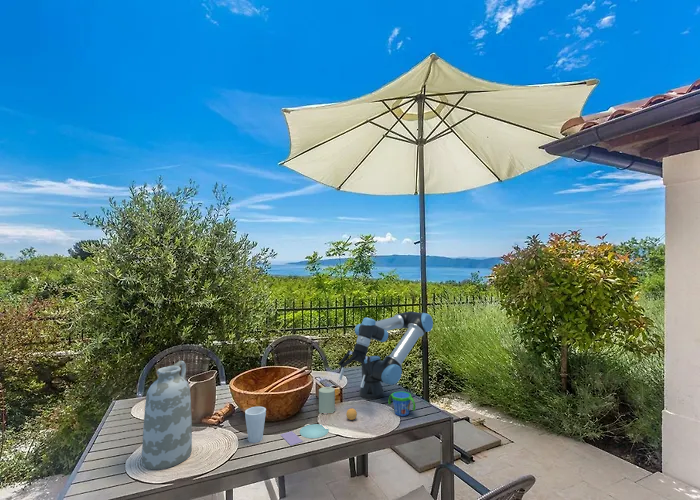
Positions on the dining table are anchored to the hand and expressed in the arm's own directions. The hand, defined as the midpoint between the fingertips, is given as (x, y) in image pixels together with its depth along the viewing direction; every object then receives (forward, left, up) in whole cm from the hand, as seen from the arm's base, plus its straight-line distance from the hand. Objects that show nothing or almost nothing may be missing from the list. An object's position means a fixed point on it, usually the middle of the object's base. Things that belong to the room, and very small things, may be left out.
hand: (350, 383), depth 185 cm
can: (+9, -11, -16) cm, 22 cm away
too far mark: (+38, +6, -16) cm, 41 cm away
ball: (+4, +6, -13) cm, 15 cm away
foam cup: (+52, -3, -16) cm, 54 cm away
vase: (+87, -10, -16) cm, 89 cm away
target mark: (+26, +6, -16) cm, 31 cm away
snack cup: (-22, +16, -16) cm, 32 cm away
